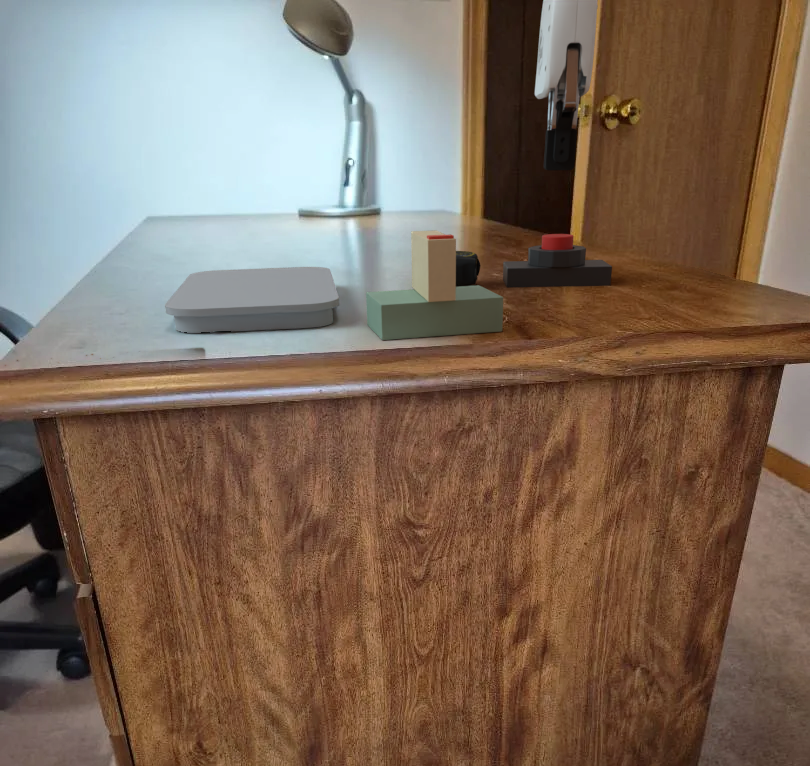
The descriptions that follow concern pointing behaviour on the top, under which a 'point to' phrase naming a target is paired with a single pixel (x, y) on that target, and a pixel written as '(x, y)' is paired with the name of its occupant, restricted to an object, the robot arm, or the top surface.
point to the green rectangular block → (433, 313)
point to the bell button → (557, 241)
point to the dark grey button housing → (556, 269)
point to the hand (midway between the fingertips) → (558, 169)
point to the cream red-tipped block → (434, 265)
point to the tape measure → (467, 268)
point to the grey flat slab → (254, 300)
